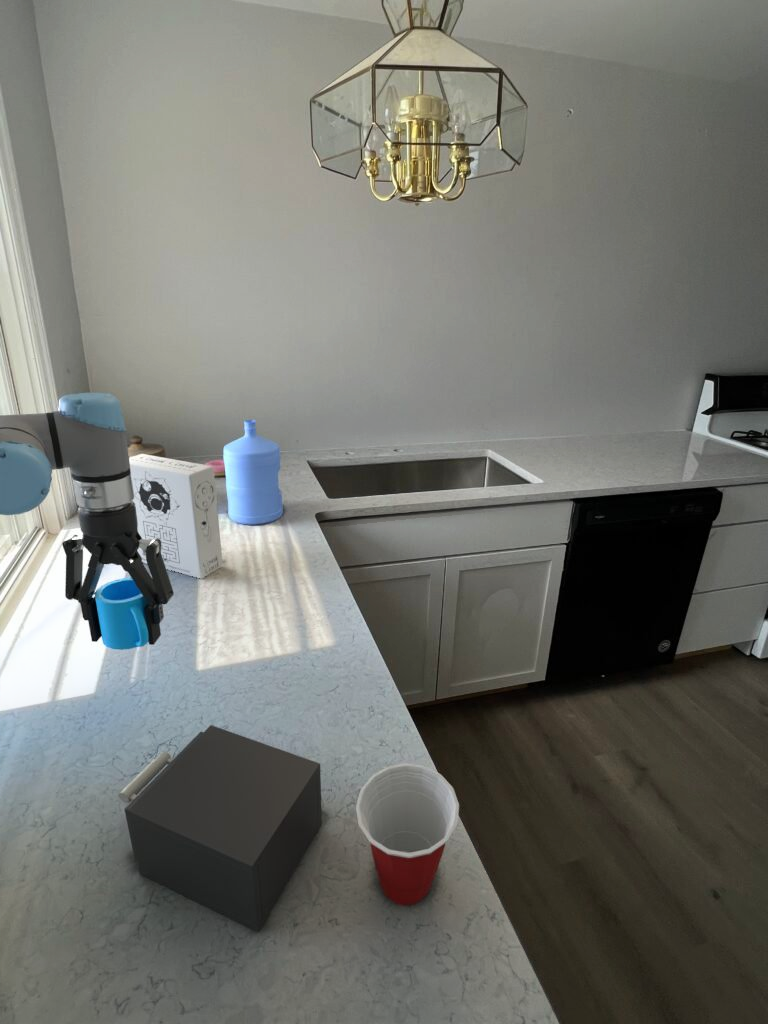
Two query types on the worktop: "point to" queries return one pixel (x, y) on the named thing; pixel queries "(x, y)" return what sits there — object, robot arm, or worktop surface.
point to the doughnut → (217, 467)
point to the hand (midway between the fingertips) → (126, 638)
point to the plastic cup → (407, 827)
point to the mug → (121, 614)
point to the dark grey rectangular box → (228, 824)
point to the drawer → (145, 777)
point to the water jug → (253, 478)
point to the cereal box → (178, 512)
